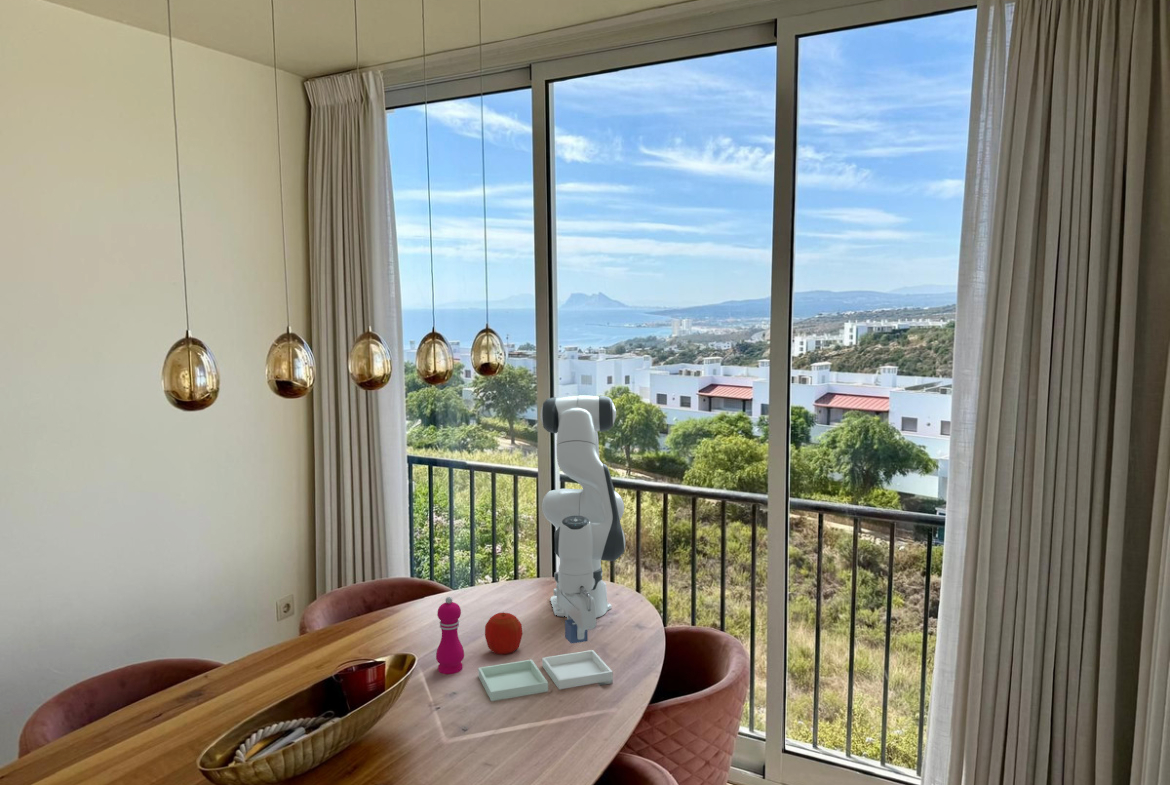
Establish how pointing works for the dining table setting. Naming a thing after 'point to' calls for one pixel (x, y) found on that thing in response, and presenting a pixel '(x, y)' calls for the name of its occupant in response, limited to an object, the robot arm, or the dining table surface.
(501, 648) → the apple
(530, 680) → the tray sage
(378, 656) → the dining table surface
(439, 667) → the pepper mill
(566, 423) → the robot arm
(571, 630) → the letter cube
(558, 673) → the tray offwhite
